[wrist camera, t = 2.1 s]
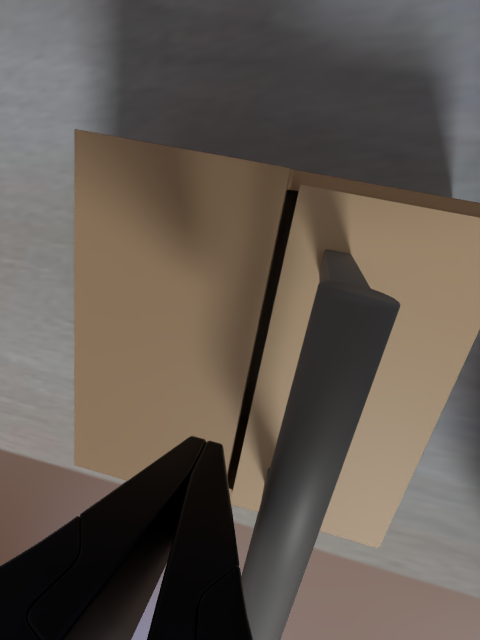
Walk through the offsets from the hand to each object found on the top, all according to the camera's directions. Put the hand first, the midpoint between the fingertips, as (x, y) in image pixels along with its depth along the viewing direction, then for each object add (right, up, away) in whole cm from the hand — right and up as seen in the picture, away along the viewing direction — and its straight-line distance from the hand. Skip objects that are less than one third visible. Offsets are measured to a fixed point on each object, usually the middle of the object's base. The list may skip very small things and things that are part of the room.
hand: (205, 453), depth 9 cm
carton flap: (+5, +1, +4) cm, 6 cm away
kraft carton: (+2, +4, +10) cm, 11 cm away
